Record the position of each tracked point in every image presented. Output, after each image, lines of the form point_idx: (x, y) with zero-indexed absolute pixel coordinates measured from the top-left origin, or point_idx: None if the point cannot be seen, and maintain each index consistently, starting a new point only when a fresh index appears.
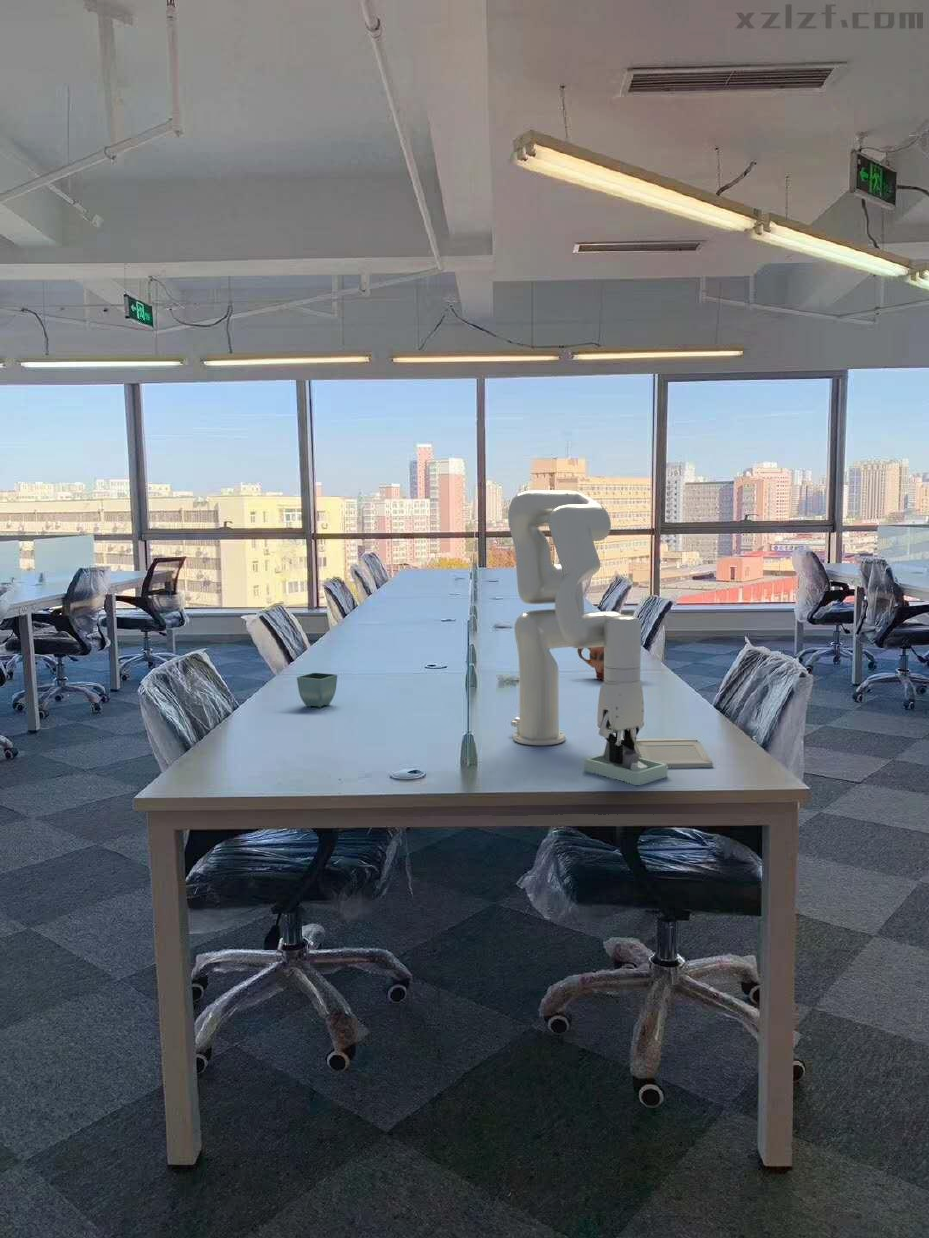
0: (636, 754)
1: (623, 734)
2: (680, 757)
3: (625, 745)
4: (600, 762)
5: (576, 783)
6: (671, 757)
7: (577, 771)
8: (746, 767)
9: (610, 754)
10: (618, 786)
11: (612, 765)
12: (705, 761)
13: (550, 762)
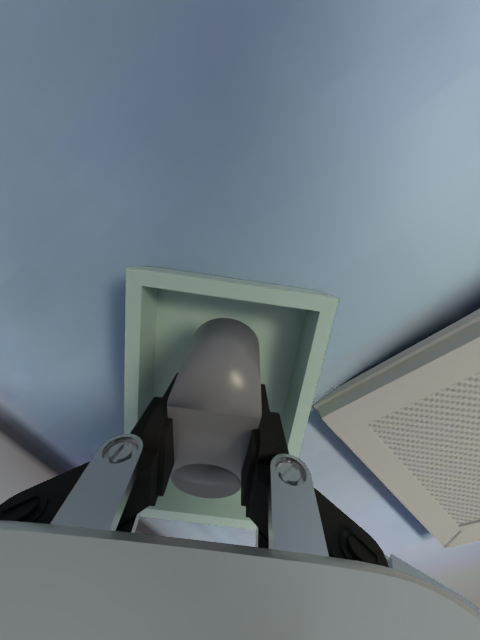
0: (226, 489)
1: (270, 493)
2: (445, 480)
3: (246, 454)
4: (133, 355)
5: (15, 332)
6: (429, 461)
7: (126, 246)
8: (474, 581)
9: (148, 408)
10: (97, 439)
11: (134, 412)
12: (446, 534)
13: (146, 39)
